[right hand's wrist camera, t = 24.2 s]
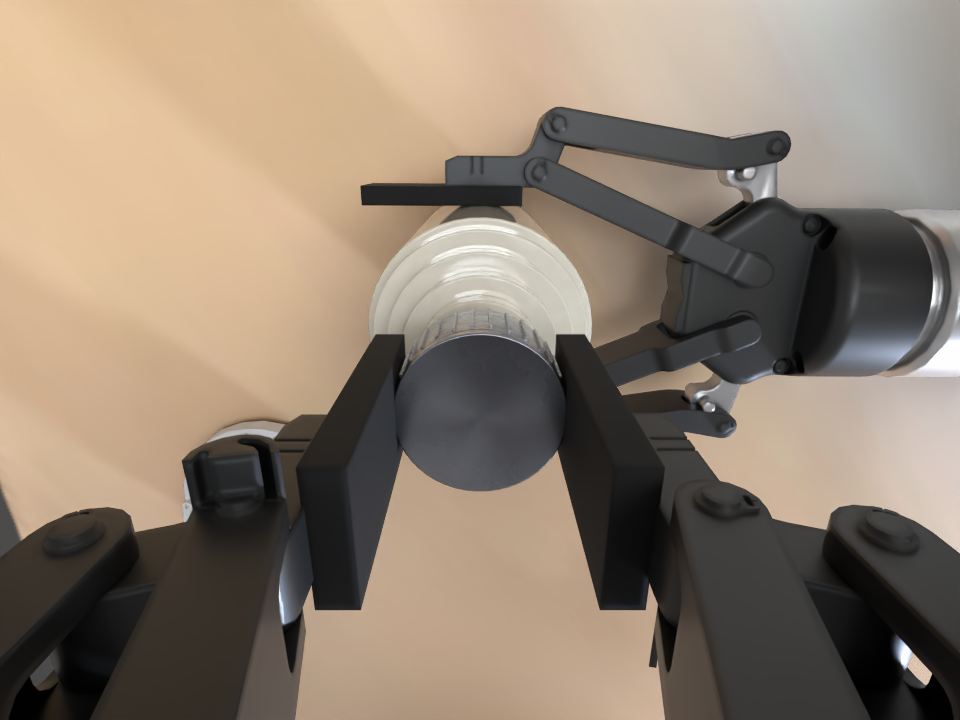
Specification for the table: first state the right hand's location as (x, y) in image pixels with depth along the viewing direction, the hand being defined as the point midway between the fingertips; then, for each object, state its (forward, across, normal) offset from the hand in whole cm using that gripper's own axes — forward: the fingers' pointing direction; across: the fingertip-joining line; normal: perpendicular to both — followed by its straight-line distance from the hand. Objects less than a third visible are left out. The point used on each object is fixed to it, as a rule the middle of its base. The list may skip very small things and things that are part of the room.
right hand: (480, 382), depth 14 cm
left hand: (+11, -5, 0) cm, 12 cm away
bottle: (+17, 0, 0) cm, 17 cm away
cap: (-2, 0, 0) cm, 2 cm away
